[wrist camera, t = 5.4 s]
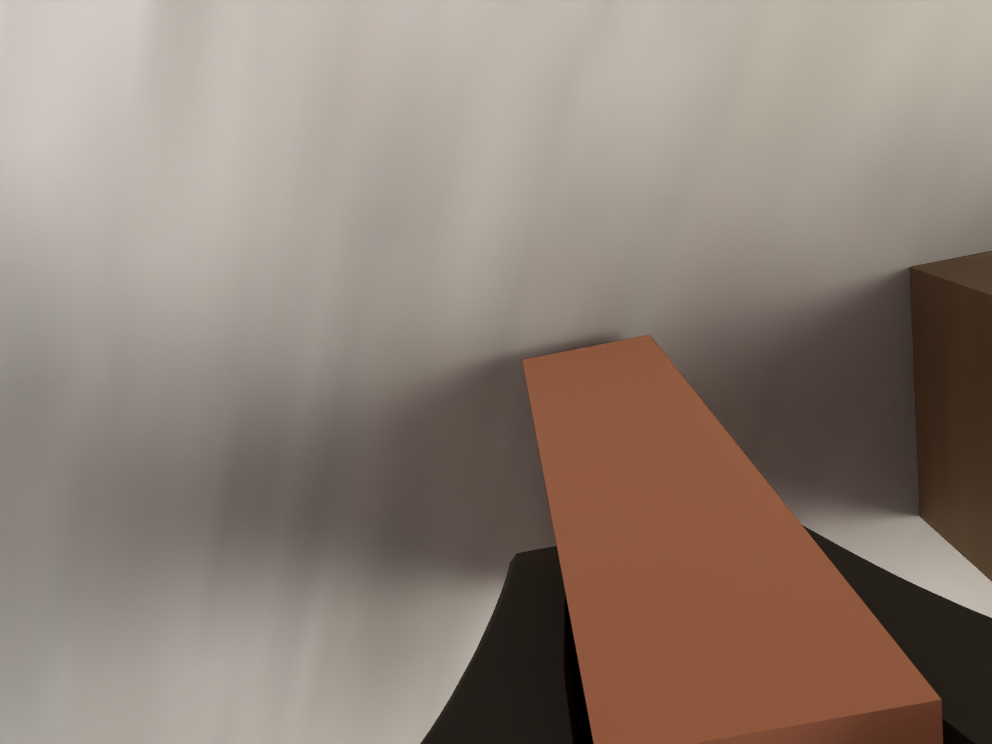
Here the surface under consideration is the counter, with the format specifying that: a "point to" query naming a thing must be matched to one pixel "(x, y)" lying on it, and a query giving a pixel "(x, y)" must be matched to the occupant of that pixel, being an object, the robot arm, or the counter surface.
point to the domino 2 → (955, 401)
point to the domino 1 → (701, 575)
